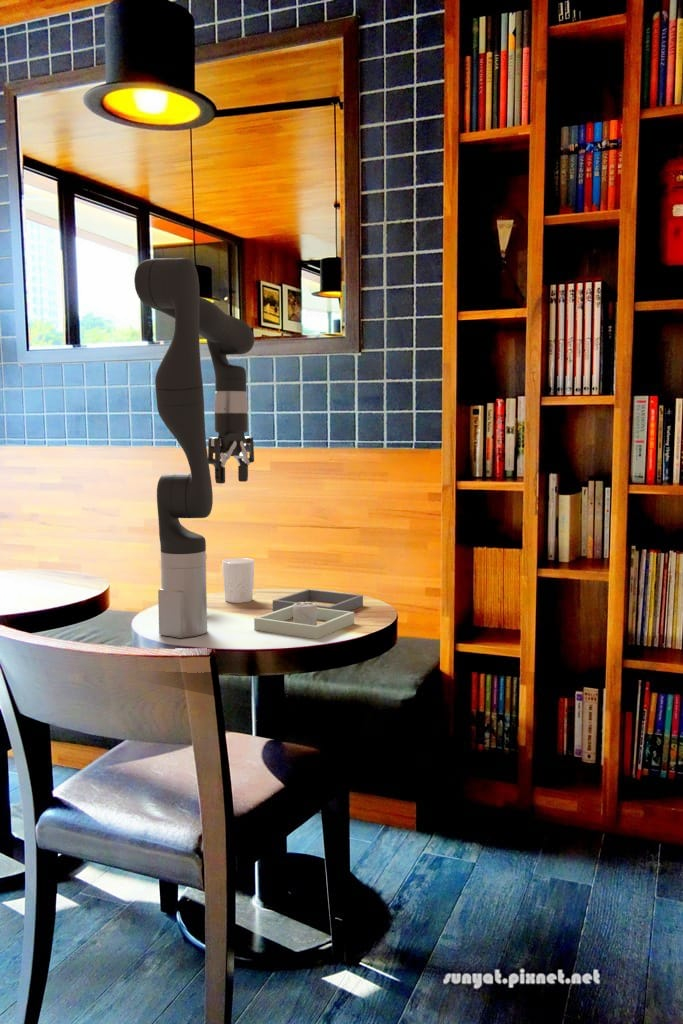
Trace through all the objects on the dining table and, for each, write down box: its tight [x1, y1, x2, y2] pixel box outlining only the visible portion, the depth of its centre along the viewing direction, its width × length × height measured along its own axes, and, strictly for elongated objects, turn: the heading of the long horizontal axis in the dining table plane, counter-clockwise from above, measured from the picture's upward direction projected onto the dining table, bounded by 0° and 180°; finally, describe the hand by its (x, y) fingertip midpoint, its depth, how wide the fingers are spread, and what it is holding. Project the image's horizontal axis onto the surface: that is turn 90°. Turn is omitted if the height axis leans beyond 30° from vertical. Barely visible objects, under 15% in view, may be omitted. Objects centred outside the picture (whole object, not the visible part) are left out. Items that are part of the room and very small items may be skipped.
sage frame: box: [253, 605, 355, 640], centre depth 177 cm, size 16×16×2 cm
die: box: [292, 601, 318, 626], centre depth 177 cm, size 5×5×5 cm
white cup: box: [221, 557, 255, 604], centre depth 204 cm, size 8×8×10 cm
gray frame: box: [272, 588, 364, 612], centre depth 195 cm, size 16×16×2 cm
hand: (232, 482), depth 190 cm, fingers open, 8 cm apart
